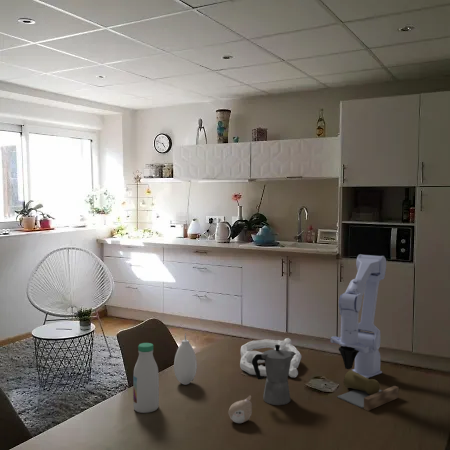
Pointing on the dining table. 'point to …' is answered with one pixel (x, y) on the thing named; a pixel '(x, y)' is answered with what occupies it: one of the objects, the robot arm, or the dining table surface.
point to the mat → (355, 397)
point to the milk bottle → (145, 381)
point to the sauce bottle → (185, 363)
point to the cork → (361, 382)
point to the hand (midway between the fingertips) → (348, 368)
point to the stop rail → (380, 398)
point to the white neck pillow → (249, 355)
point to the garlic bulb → (241, 410)
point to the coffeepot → (275, 375)
